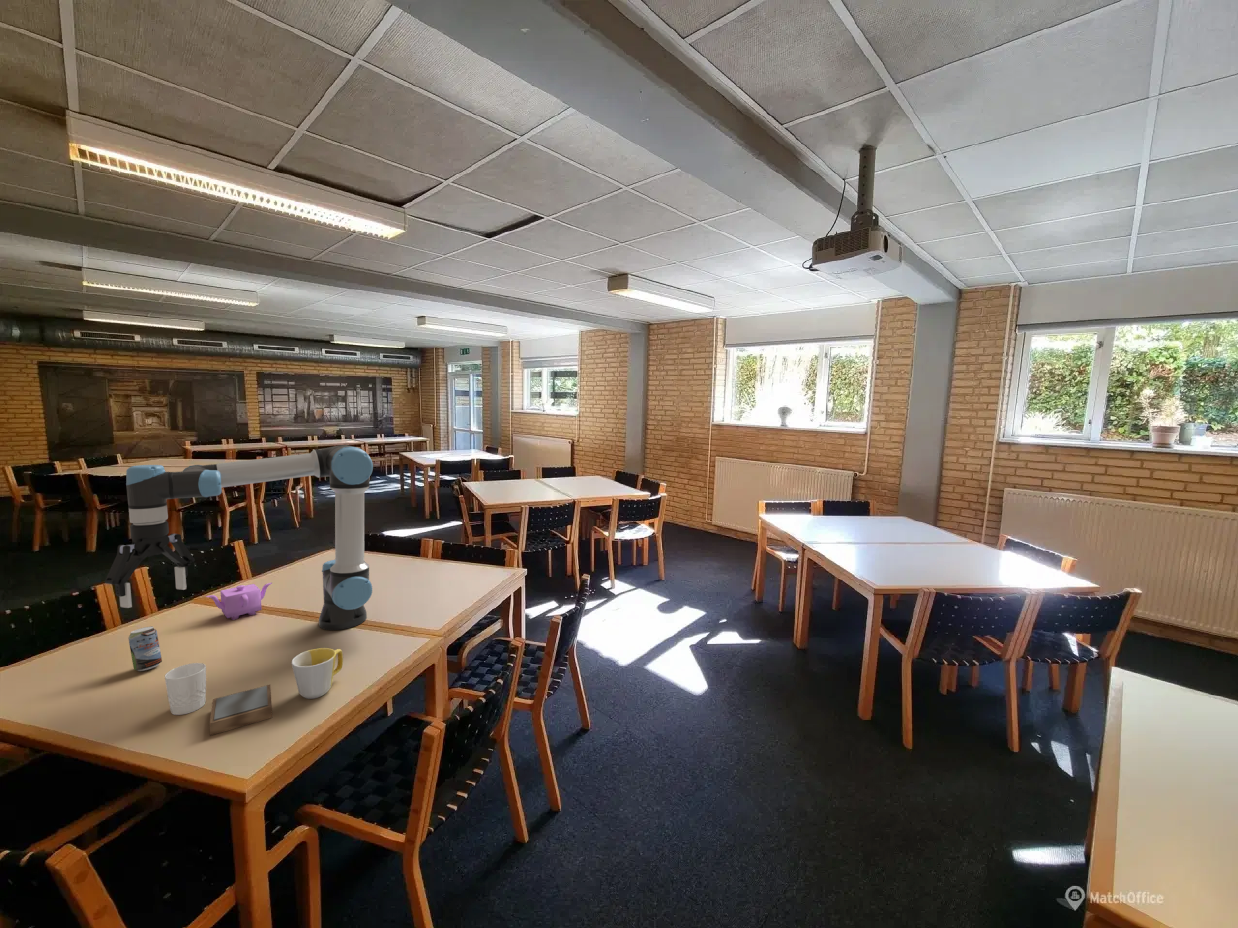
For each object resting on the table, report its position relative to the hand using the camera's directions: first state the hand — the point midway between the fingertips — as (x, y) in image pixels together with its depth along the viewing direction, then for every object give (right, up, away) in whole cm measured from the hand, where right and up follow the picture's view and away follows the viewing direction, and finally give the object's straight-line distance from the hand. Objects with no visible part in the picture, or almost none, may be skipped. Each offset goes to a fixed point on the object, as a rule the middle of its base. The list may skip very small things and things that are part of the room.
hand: (155, 597), depth 135 cm
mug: (+46, -26, 0) cm, 53 cm away
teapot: (-13, -19, +48) cm, 53 cm away
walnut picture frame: (+33, -26, -11) cm, 43 cm away
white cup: (+17, -26, -9) cm, 32 cm away
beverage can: (-11, -23, +9) cm, 28 cm away
